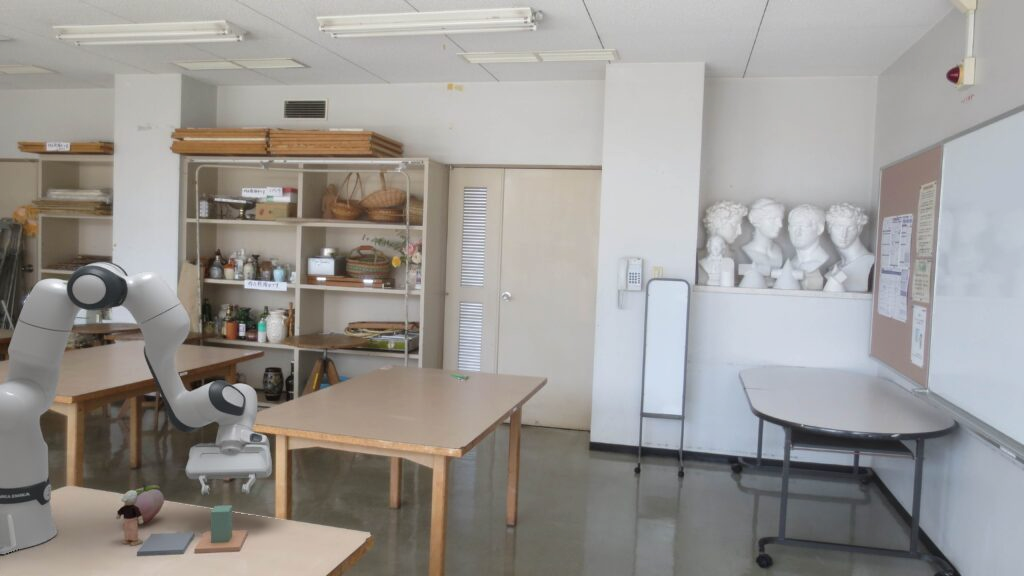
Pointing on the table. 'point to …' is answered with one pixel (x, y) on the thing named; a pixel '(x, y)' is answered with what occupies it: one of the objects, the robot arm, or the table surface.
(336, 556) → the table surface
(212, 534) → the green wooden block
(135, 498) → the grandmother figurine
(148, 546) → the slate tile
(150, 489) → the decorative fruit
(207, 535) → the terracotta tile
